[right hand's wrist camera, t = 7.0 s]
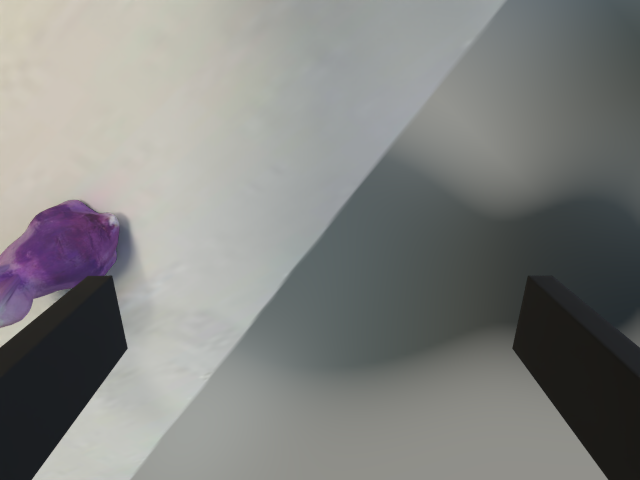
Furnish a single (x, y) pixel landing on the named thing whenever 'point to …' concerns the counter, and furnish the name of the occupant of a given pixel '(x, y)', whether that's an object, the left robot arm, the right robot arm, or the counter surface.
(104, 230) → the figurine
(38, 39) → the counter surface
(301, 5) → the counter surface
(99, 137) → the counter surface
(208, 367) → the counter surface
